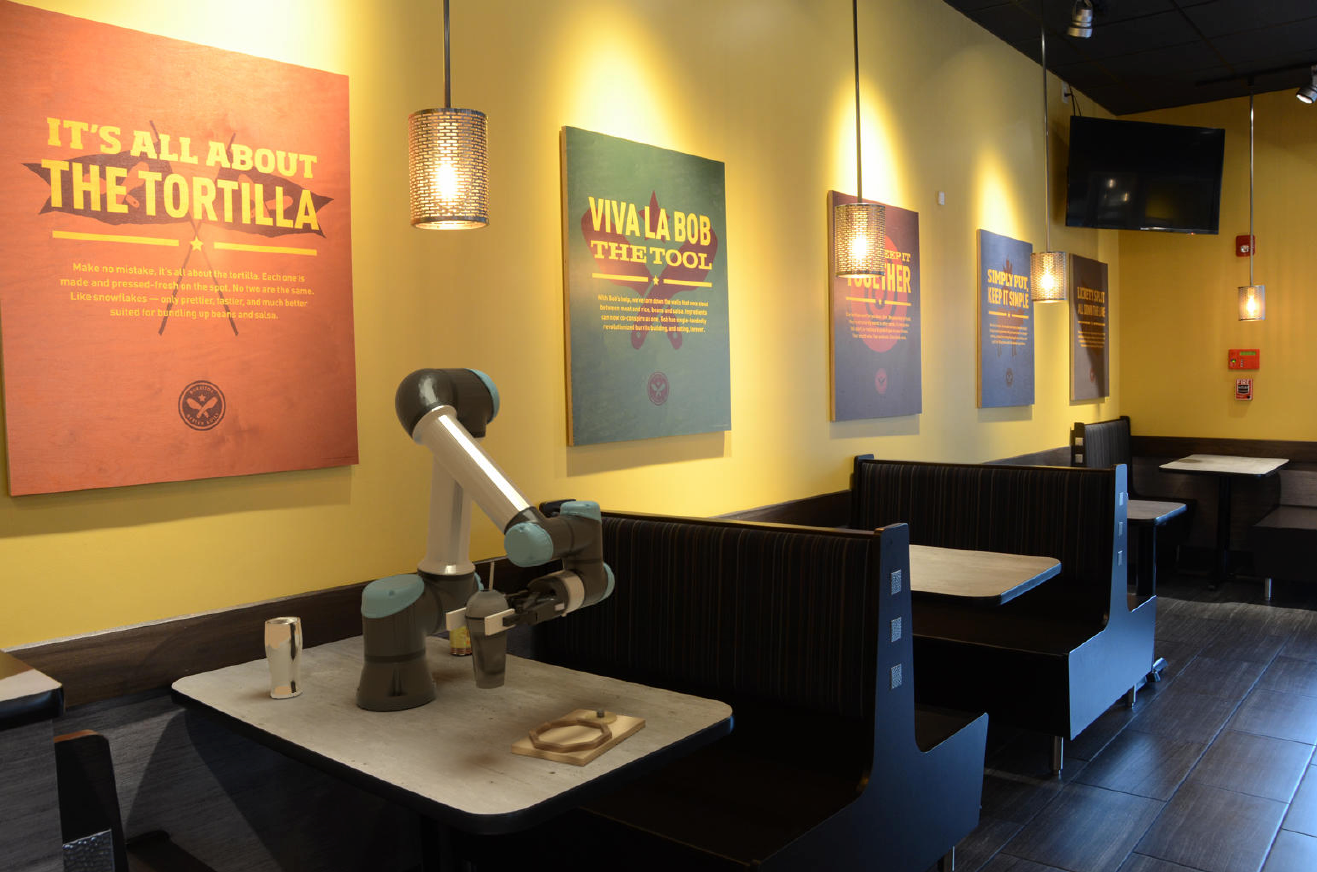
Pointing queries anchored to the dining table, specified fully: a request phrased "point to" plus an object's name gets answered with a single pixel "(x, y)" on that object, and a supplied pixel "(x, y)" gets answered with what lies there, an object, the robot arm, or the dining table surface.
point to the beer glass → (284, 654)
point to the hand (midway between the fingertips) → (467, 624)
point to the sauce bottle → (460, 640)
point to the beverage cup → (487, 637)
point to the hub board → (578, 736)
